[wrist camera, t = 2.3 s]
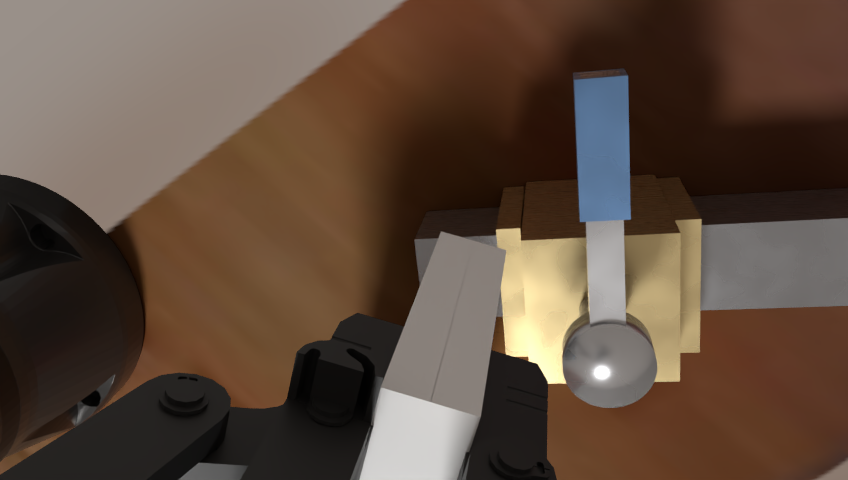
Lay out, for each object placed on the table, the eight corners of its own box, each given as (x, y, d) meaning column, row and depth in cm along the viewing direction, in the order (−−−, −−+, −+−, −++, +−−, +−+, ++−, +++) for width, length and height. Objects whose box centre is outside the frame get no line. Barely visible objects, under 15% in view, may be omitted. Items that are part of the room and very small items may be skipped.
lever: (564, 387, 29) (564, 408, 28) (547, 74, 26) (547, 82, 24) (652, 386, 29) (657, 407, 28) (650, 66, 25) (655, 72, 24)
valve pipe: (437, 305, 41) (401, 422, 31) (424, 188, 39) (381, 273, 29) (849, 291, 38) (957, 418, 28) (860, 161, 36) (982, 249, 26)
